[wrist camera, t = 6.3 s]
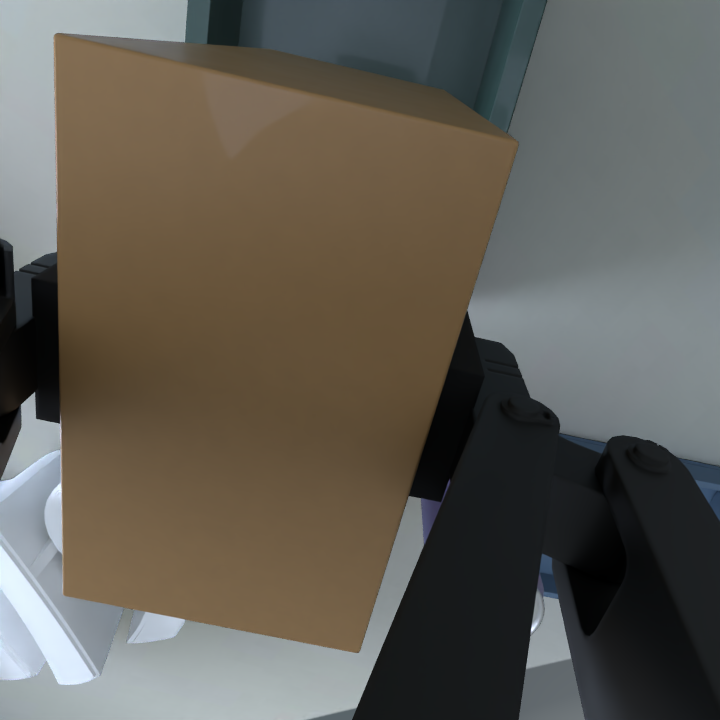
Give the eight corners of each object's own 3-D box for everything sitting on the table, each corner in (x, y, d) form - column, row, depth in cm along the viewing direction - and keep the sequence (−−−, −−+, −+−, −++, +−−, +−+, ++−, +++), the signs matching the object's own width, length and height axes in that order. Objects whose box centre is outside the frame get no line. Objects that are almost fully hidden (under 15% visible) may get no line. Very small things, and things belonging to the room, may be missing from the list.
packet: (445, 90, 20) (520, 141, 8) (379, 353, 25) (359, 654, 12) (268, 48, 20) (51, 31, 7) (234, 321, 24) (61, 596, 12)
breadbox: (434, 303, 39) (442, 350, 33) (204, 254, 38) (167, 292, 32) (538, -63, 30) (575, -94, 24) (241, -136, 30) (200, -188, 23)
